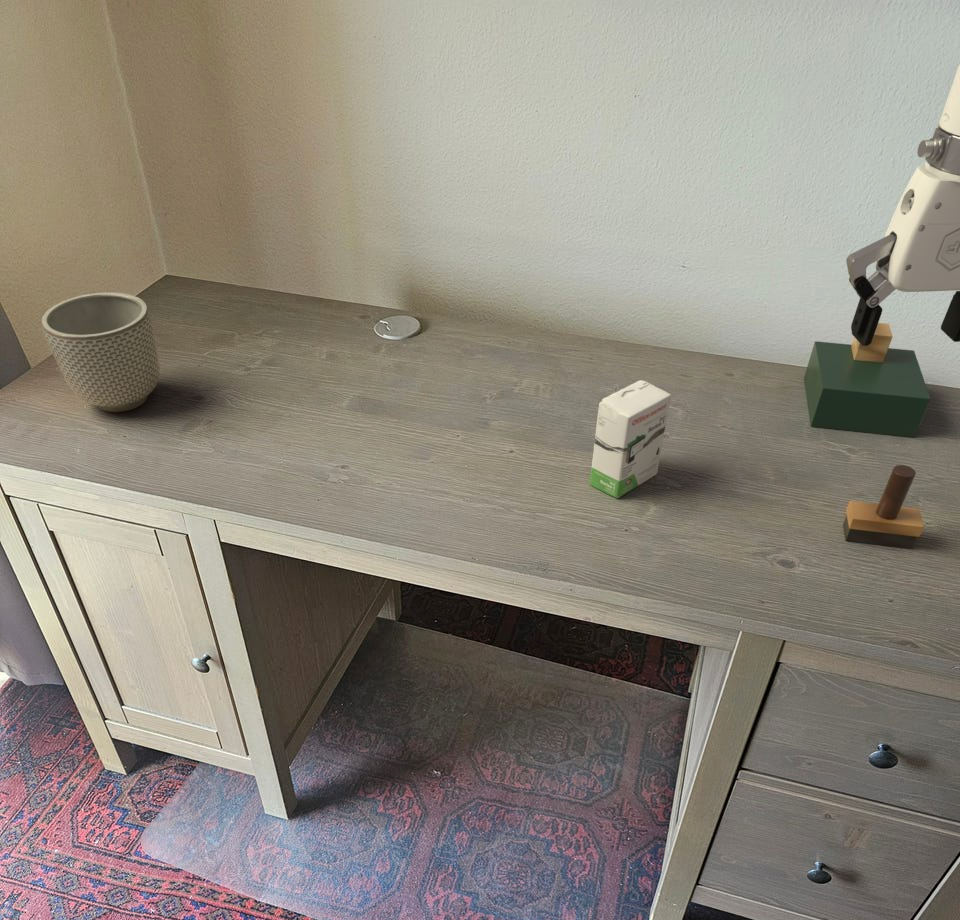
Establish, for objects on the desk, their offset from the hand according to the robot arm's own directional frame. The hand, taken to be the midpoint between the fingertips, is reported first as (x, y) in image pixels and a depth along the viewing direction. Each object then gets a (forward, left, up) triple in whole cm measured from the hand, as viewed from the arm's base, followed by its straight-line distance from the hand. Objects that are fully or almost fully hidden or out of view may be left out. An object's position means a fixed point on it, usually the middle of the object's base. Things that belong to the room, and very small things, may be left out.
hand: (905, 337), depth 88 cm
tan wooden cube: (-6, -34, -18) cm, 39 cm away
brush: (-5, +1, -24) cm, 25 cm away
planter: (+99, -10, -24) cm, 103 cm away
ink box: (+26, -5, -24) cm, 36 cm away
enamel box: (-6, -30, -24) cm, 39 cm away
